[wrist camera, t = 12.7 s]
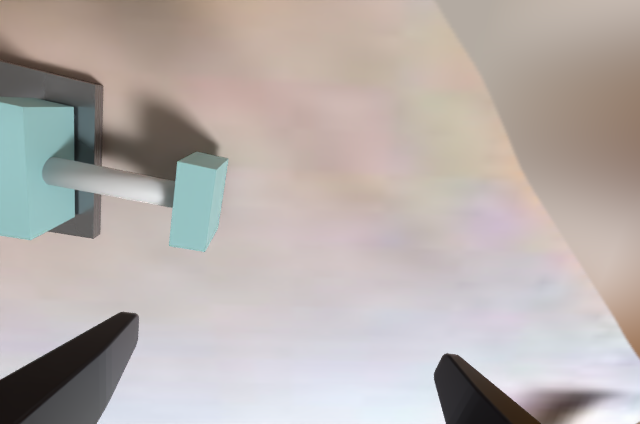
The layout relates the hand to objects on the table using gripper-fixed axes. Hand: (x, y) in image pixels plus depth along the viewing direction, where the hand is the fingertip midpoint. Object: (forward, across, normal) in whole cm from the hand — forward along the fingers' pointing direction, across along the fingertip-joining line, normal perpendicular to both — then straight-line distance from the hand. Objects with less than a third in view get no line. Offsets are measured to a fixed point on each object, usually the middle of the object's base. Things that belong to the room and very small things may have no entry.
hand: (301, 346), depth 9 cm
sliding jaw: (+13, +10, +1) cm, 17 cm away
